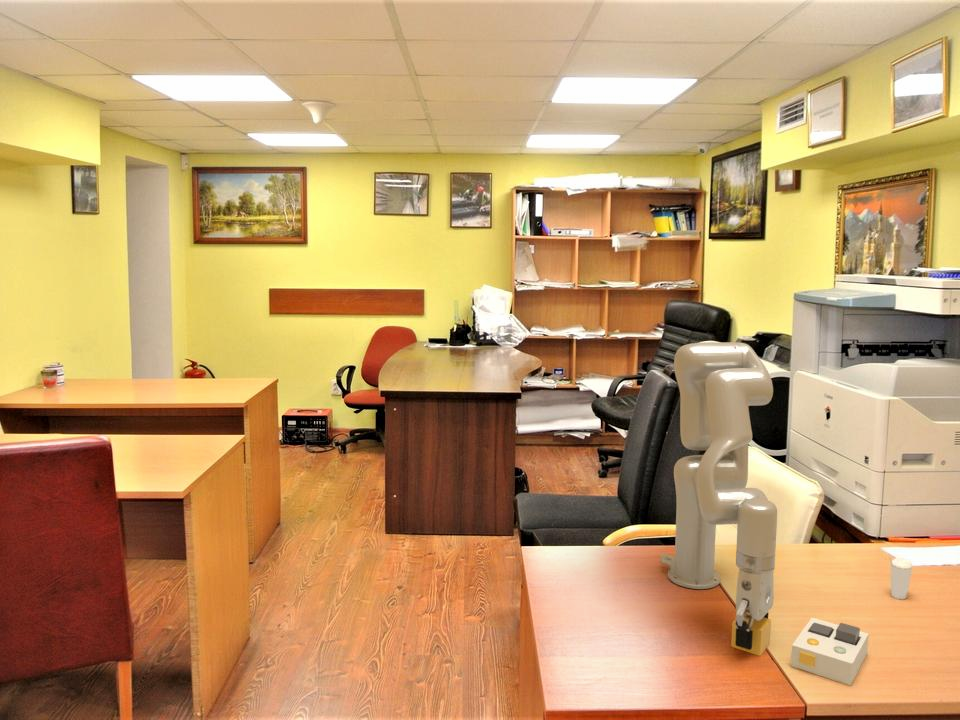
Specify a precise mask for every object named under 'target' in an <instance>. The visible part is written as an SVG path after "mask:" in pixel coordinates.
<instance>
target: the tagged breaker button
mask: <svg viewBox="0 0 960 720" xmlns="http://www.w3.org/2000/svg"><path fill="white" fill-rule="evenodd" d="M809 632H811V633H815V634H818V635H821V636H825V637H828V638H830V636H831V634H832V632H833V628H832V627H828V626H825V625H821V624H818V623H814V624H813V625H812V627H811V628H810V629H809Z"/></svg>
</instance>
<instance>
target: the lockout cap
mask: <svg viewBox="0 0 960 720" xmlns="http://www.w3.org/2000/svg"><path fill="white" fill-rule="evenodd" d="M745 614H747V615H751V614H750V613H747V612H746V613H745ZM744 621H746V623H747V624H748V622H749V619H746V618H744ZM731 623H732V625H731V641H730V642H731V643H730V648H731V647H732V648H734V649H737V650H740V651H744V652H747V653H750V654H753V655H756V656H759V657H761V656H762V654H763V653H764V652H765V651H766V649H767V648H768V647H769V645H770V644H771V626H772V619H771V618H769V617H768V618H765V617H763V618H762V619H761V620H759V621H756V620H755V619H754V620H753V624H752V628H751V630H752V631H753V636H752V648H751V650H748V649H745V648H742V647H739V646H736V644H735V641H736V618H734V620H733V621H732V622H731Z"/></svg>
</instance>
